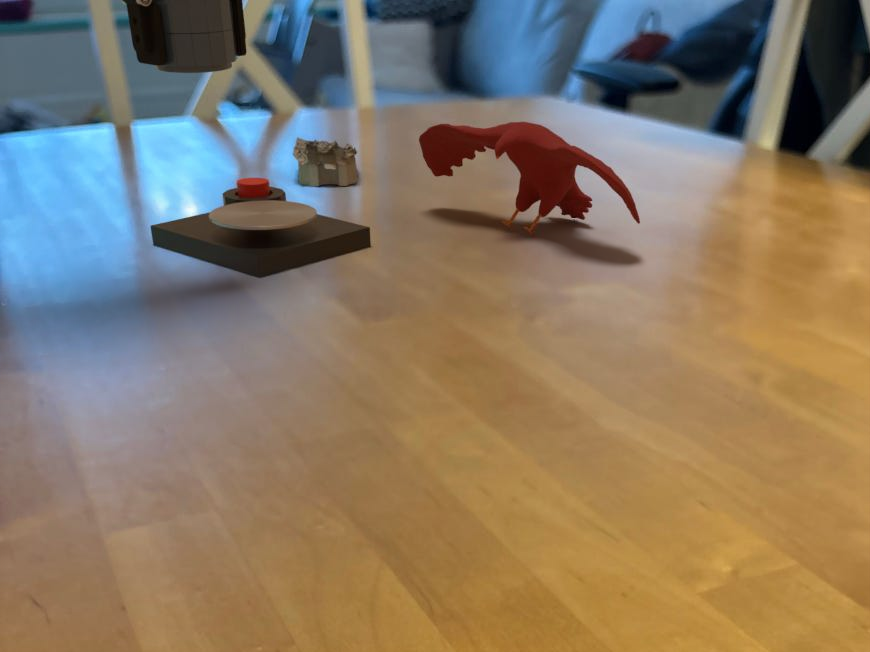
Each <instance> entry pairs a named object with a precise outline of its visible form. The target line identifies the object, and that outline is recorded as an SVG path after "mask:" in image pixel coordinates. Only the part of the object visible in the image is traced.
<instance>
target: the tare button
mask: <svg viewBox="0 0 870 652" xmlns="http://www.w3.org/2000/svg"><path fill="white" fill-rule="evenodd" d="M270 187H271V186H270V180H269V179H267V178H265V177H244V178H243V177H242V178H240V179H237V180H236V188H237V191H238V196H240V197H252V198H253V197H264V196H269V195H270Z"/></svg>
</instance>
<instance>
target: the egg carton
mask: <svg viewBox="0 0 870 652" xmlns="http://www.w3.org/2000/svg"><path fill="white" fill-rule="evenodd" d="M357 154H358V150H356V147H353V145H352V144H350V143H346V144H345V146H340V145H339V144H338V141H337V140H334V141H333V142H329V141H327V140H321V141H319V140H317V139H314V140H306V139H303V138H300V137H296V141H295V144H294V146H293V152H292V156H293V157H294V159H296V161H297V163H298V181H299V185H303V186H308V187H319V186H322V185H323V186H324V185H336V186H339V187H347V186H349V185H353V184H354V185H355V184H357V183H358V181H357V179H358V178H357V177H358V167H357V160H356V155H357Z"/></svg>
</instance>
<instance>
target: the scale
mask: <svg viewBox="0 0 870 652" xmlns="http://www.w3.org/2000/svg"><path fill="white" fill-rule="evenodd" d="M269 187H270V195H269V196H264V197H253V198H252V197H240V196H238V191H237V187H234V188H229V189H227V190H225V191H224V192H223V193H222V202H223V206H225V205H229V204H234V203H240V202H248V201H264V200H275V201H287V195H286V192H285V190H284V189H282V188H279V187H274V186H269ZM210 212H211V211H210ZM210 212H209V211H208V212H205V213H201V214H196V215H191V216H187V217H184V218H178V219H173V220H170V221H169V220H168V221H165V222H160V223H156V224H152V225H150V226H149V227H150V232H151V238H152V246H155V247H157V248H161V249H164V250H167V251H171V252H174V253H176V254H181V255H184V256H187V257H189V258H190V257H191V258H193V259H197V260H199V261H204V262H207V263H210V264H213V265H217V266H219V267H223V268H226V269H229V270H231V271H232V270H233V271H235V272H238V273H242V274H246V275H249V276H251V277H255V278H258V279H261V278H264V277H268V276H272V275H275V274H279V273H282V272H283V273H284V272H286V271H290V270H293V269H296V268H297V269H298V268H300V267H305V266H308V265H312V264H315V263H318V262H322V261H325V260H329V259H333V258H336V257H339V256H340V257H341V256H343V255H347V254H350V253H353V252H354V253H355V252H359V251H362V250H365V249H368V248H371V247H372V245H371V241H372V240H371V227H370V226H367V225H362V224H358V223H355V222H351V221H347V220H341V219H339V218H334V217H331V216H326V215H322V214H318V213H317V216H316V218H315V219H314V220H312V221H310V222H308V223H306V224H303V225H299V226H295V227H289V228H282V229H272V230H241V229H232V228H226V227H222V226H219V225H216V224H214V223H212V222H211V221H210V220H209V213H210Z"/></svg>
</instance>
